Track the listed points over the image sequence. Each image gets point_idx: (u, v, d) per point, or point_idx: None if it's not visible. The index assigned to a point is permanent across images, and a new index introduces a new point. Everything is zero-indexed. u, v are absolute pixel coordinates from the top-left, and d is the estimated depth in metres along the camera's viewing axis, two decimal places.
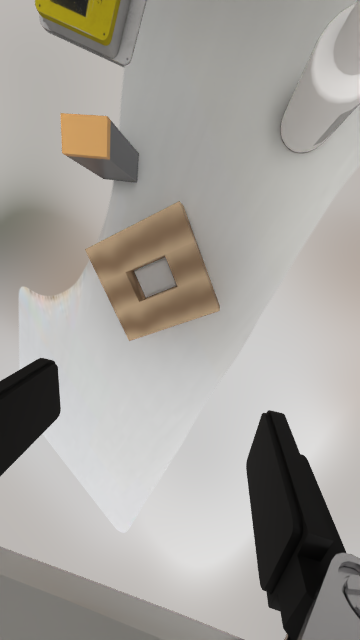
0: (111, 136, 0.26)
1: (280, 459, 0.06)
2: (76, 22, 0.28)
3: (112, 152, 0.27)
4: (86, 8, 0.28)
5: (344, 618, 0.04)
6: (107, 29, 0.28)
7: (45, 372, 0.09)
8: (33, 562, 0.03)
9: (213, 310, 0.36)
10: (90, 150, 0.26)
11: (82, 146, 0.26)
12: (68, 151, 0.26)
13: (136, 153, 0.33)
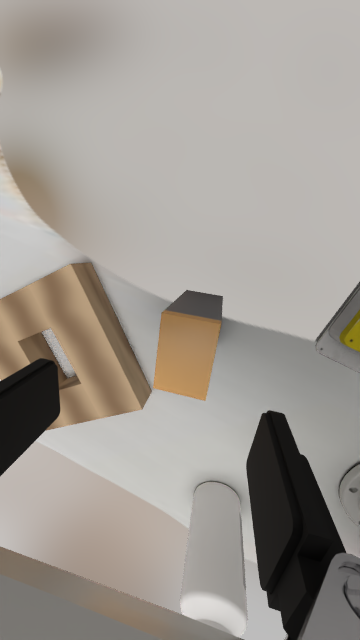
0: None
1: (280, 459, 0.06)
2: None
3: None
4: None
5: (344, 618, 0.04)
6: (354, 346, 0.19)
7: (45, 372, 0.09)
8: (33, 562, 0.03)
9: None
10: (163, 364, 0.15)
11: (169, 352, 0.15)
12: (163, 325, 0.14)
13: None
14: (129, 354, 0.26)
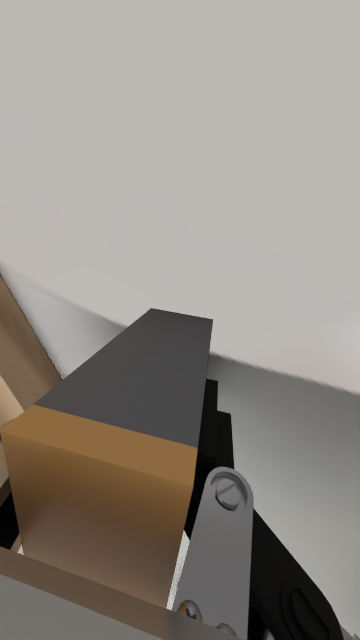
0: None
1: None
2: None
3: None
4: None
5: (215, 514, 0.05)
6: None
7: None
8: (33, 562, 0.03)
9: None
10: (39, 549, 0.06)
11: (48, 528, 0.05)
12: (15, 464, 0.05)
13: None
14: None
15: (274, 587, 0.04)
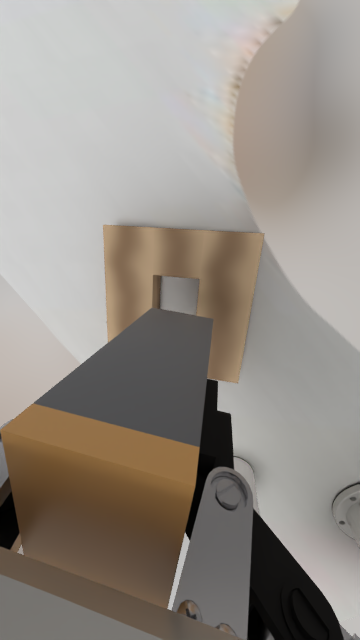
0: None
1: None
2: None
3: None
4: None
5: (215, 514, 0.05)
6: None
7: None
8: (33, 562, 0.03)
9: None
10: (39, 549, 0.05)
11: (48, 528, 0.05)
12: (16, 463, 0.05)
13: None
14: None
15: (274, 587, 0.04)
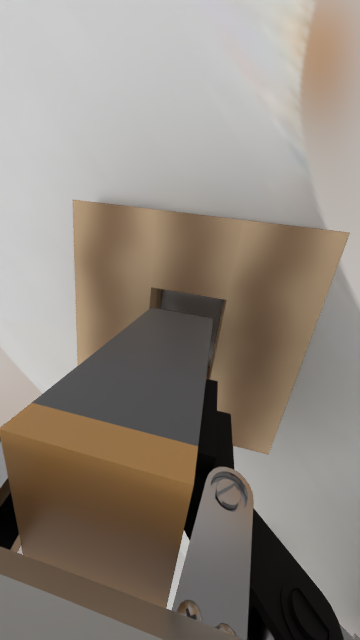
0: None
1: None
2: None
3: None
4: None
5: (215, 514, 0.05)
6: None
7: None
8: (33, 562, 0.03)
9: None
10: (38, 549, 0.05)
11: (47, 527, 0.05)
12: (14, 462, 0.05)
13: None
14: None
15: (274, 587, 0.04)
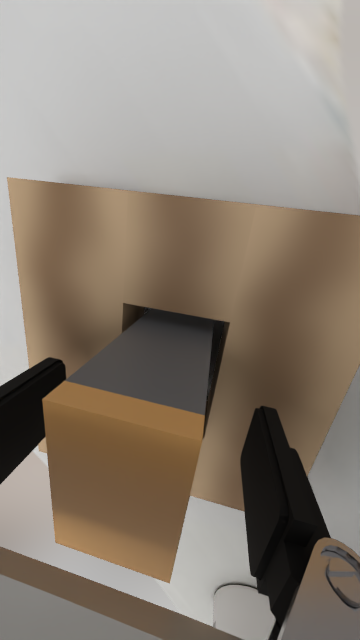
0: None
1: (270, 451, 0.06)
2: None
3: None
4: None
5: (326, 599, 0.04)
6: None
7: (54, 371, 0.09)
8: (33, 562, 0.03)
9: (42, 443, 0.16)
10: (67, 506, 0.06)
11: (77, 486, 0.06)
12: (53, 428, 0.05)
13: None
14: None
15: None
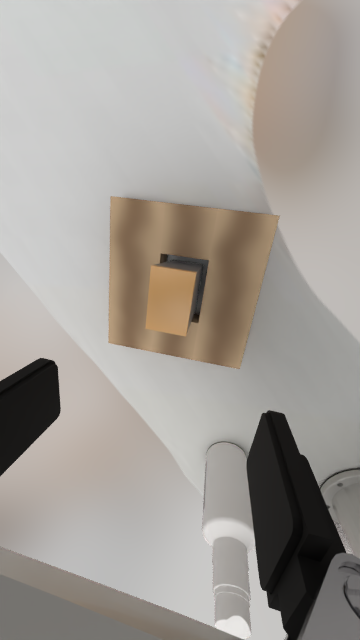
0: None
1: (280, 459, 0.06)
2: None
3: None
4: None
5: (344, 618, 0.04)
6: None
7: (45, 372, 0.09)
8: (33, 562, 0.03)
9: (111, 337, 0.29)
10: (152, 308, 0.20)
11: (157, 298, 0.19)
12: (152, 275, 0.19)
13: None
14: None
15: None
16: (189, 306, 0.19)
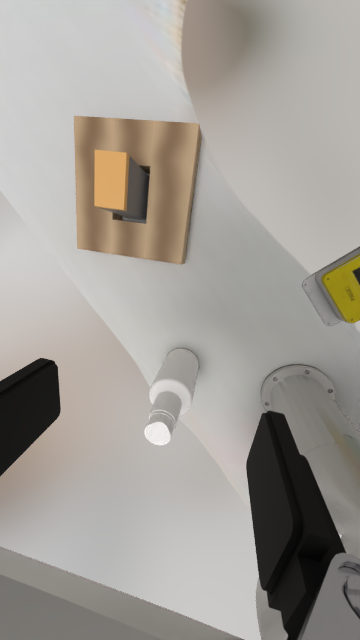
0: (117, 210, 0.28)
1: (280, 459, 0.06)
2: (357, 261, 0.30)
3: (107, 209, 0.28)
4: (354, 275, 0.30)
5: (344, 618, 0.04)
6: (327, 283, 0.31)
7: (45, 372, 0.09)
8: (33, 562, 0.03)
9: (79, 243, 0.36)
10: (98, 187, 0.26)
11: (101, 177, 0.26)
12: (96, 158, 0.25)
13: (145, 219, 0.35)
14: (188, 224, 0.34)
15: None
16: (124, 182, 0.26)
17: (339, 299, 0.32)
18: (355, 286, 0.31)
